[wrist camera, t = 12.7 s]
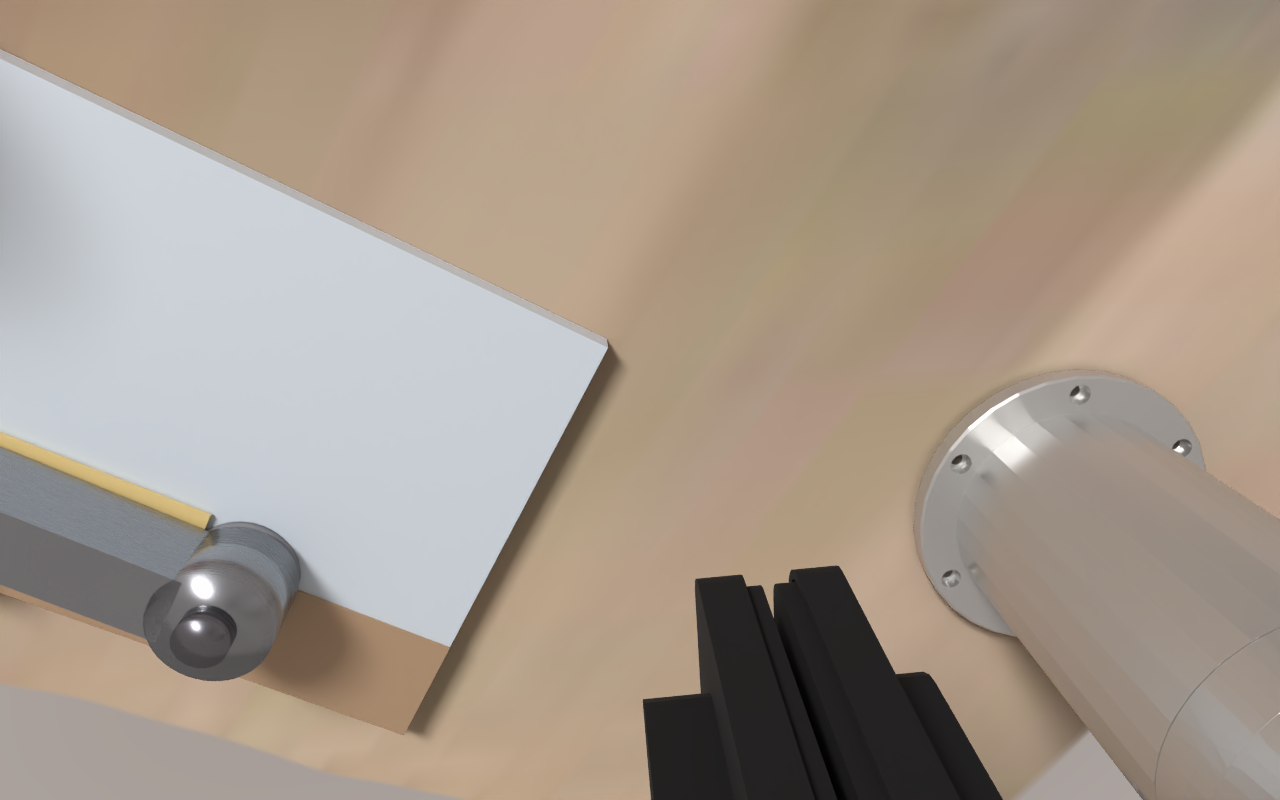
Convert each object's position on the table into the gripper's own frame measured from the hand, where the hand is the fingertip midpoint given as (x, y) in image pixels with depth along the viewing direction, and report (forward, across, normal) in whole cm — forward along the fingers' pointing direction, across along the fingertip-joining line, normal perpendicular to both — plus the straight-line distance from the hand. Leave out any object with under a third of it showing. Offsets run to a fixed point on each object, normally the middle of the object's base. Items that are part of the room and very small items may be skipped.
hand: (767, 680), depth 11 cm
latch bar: (+25, +22, +8) cm, 34 cm away
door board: (+27, +18, +5) cm, 32 cm away
